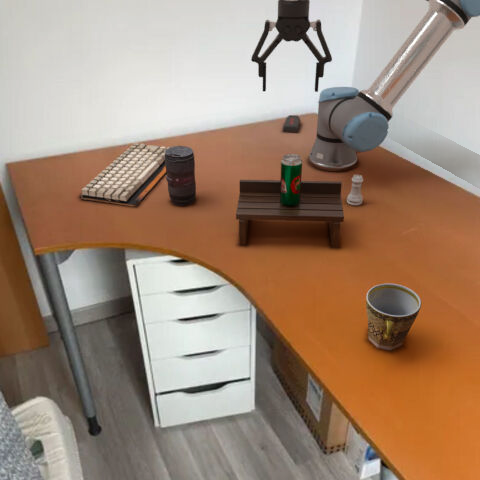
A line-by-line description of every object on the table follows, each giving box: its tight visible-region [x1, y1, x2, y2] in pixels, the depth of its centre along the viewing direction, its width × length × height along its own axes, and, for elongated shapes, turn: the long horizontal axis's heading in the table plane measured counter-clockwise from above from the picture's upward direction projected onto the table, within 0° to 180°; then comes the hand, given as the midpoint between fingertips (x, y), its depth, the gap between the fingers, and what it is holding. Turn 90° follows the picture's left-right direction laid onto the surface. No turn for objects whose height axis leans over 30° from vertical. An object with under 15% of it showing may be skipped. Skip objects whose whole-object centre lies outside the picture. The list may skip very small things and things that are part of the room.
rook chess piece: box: [346, 174, 364, 207], centre depth 146 cm, size 4×4×8 cm
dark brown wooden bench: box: [235, 179, 345, 249], centre depth 133 cm, size 14×26×12 cm, turn 85°
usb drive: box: [282, 114, 301, 133], centre depth 195 cm, size 5×12×3 cm, turn 169°
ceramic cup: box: [365, 283, 422, 351], centre depth 100 cm, size 13×10×10 cm
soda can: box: [279, 153, 303, 207], centre depth 127 cm, size 5×5×12 cm
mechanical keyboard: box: [79, 142, 171, 208], centre depth 164 cm, size 38×19×3 cm, turn 164°
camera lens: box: [165, 145, 197, 207], centre depth 146 cm, size 8×8×15 cm
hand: (290, 90), depth 138 cm, fingers open, 13 cm apart
